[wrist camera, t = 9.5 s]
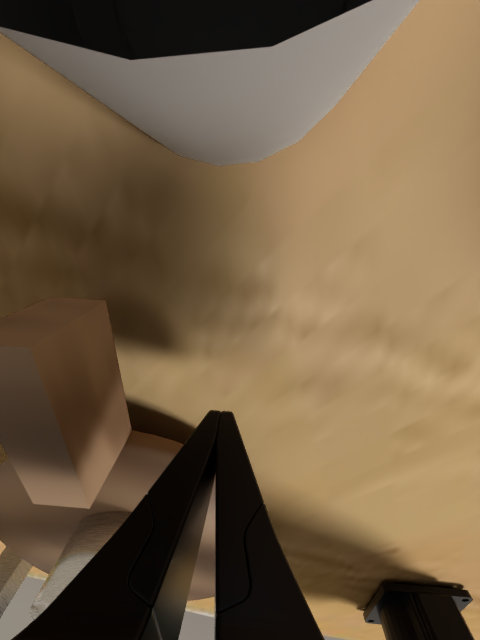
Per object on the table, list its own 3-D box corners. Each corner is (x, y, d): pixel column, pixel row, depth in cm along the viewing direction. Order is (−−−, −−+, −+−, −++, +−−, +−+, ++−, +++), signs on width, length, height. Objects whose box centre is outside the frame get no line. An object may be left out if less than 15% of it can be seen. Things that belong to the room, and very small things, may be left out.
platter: (256, 590, 18) (256, 667, 15) (45, 571, 18) (5, 641, 15) (304, 311, 8) (332, 368, 5) (-135, 284, 9) (-333, 322, 6)
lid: (191, 575, 15) (178, 656, 12) (89, 566, 15) (53, 643, 13) (186, 517, 12) (167, 603, 10) (60, 506, 13) (8, 588, 10)
